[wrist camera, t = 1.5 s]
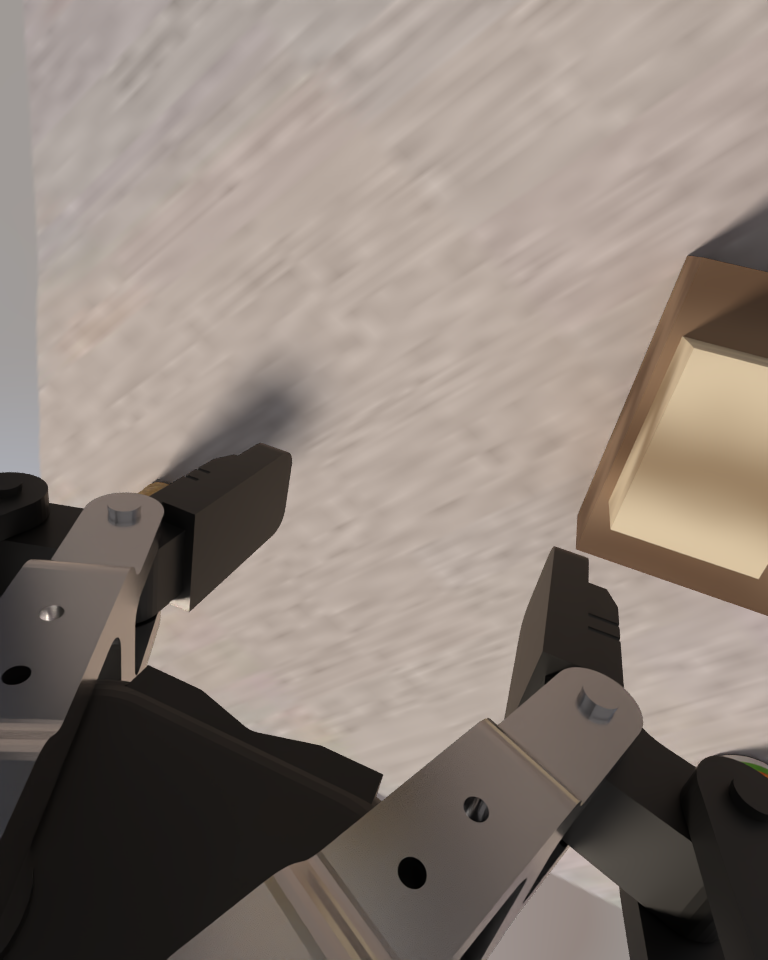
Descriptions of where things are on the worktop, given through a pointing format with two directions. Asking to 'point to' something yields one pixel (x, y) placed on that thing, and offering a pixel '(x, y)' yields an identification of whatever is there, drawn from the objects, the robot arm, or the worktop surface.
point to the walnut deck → (689, 313)
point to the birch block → (702, 461)
